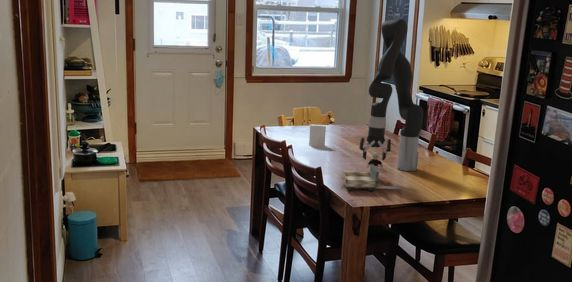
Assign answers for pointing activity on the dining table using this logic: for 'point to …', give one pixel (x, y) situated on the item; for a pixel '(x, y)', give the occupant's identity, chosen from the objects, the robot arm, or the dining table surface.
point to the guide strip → (375, 187)
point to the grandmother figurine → (375, 160)
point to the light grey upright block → (317, 136)
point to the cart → (361, 179)
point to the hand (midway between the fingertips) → (373, 159)
